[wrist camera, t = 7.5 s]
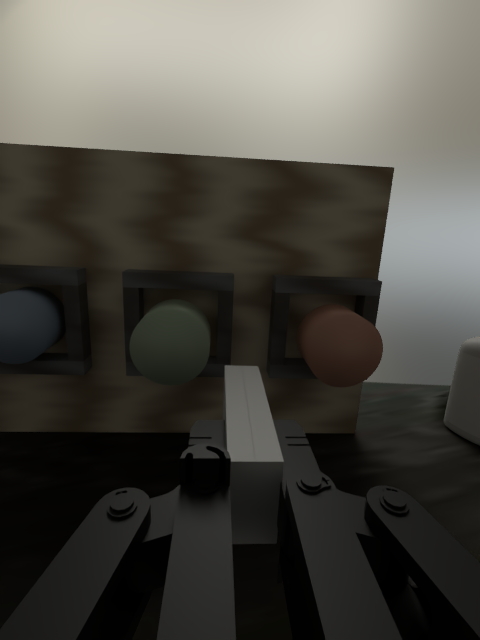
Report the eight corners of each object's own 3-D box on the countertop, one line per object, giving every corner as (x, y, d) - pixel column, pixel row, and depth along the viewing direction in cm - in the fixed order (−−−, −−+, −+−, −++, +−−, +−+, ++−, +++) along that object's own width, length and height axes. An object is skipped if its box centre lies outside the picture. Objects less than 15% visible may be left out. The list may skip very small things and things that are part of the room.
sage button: (209, 365, 23) (211, 300, 22) (208, 386, 20) (210, 311, 19) (141, 364, 23) (139, 298, 22) (130, 385, 20) (128, 309, 19)
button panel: (342, 414, 31) (374, 174, 26) (362, 444, 27) (406, 163, 22) (15, 411, 29) (-20, 150, 24) (-21, 443, 25) (-72, 133, 20)
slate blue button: (70, 348, 25) (65, 287, 24) (50, 364, 22) (44, 296, 21) (5, 347, 25) (-3, 285, 23) (-23, 363, 22) (-34, 293, 20)
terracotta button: (357, 368, 24) (366, 305, 23) (376, 388, 21) (388, 316, 20) (293, 367, 23) (299, 303, 22) (304, 386, 21) (311, 314, 19)
